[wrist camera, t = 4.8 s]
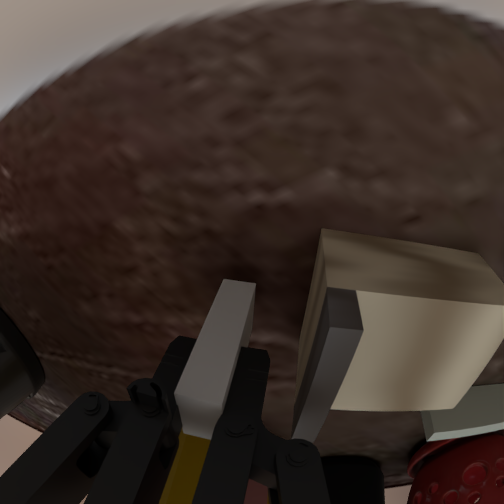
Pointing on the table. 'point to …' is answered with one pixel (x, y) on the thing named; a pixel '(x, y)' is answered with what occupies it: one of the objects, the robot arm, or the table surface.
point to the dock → (467, 414)
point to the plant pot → (459, 470)
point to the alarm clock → (198, 474)
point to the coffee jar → (353, 481)
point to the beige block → (393, 327)
